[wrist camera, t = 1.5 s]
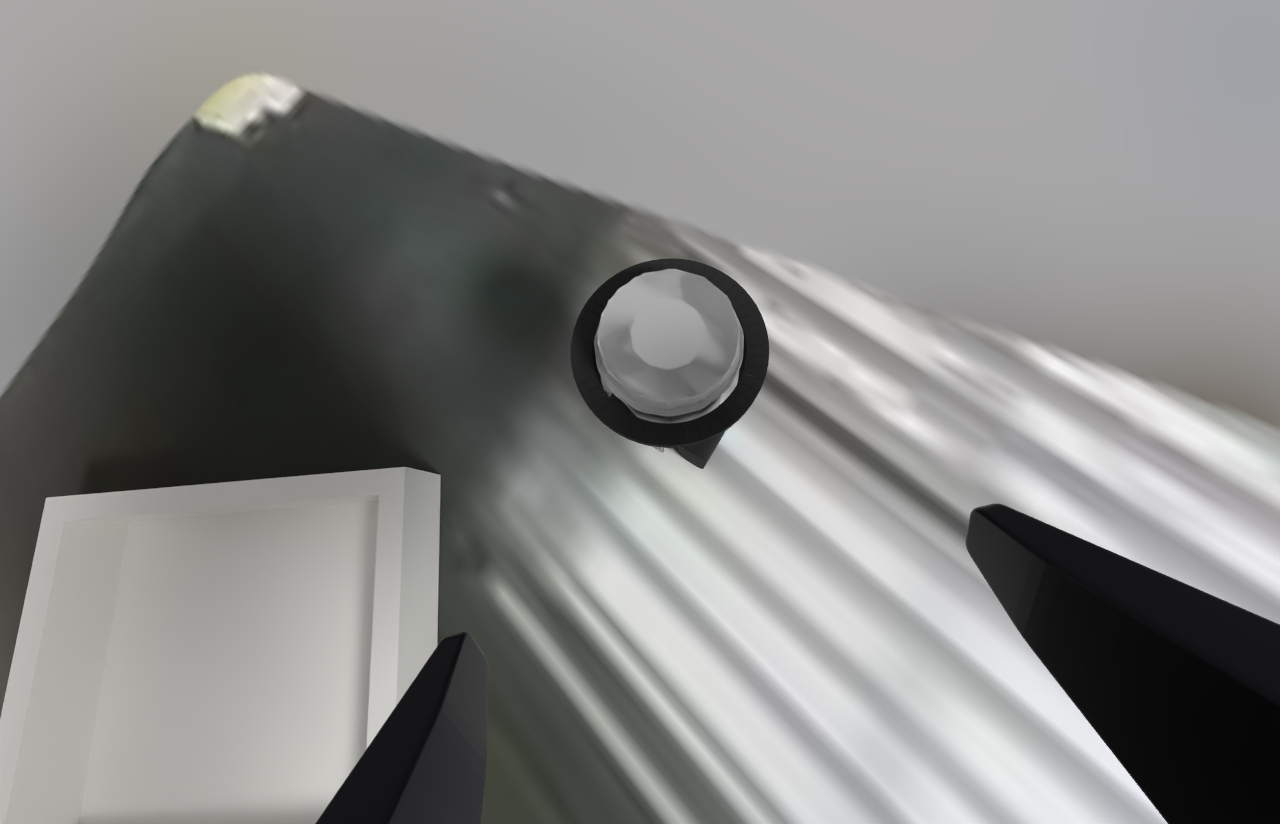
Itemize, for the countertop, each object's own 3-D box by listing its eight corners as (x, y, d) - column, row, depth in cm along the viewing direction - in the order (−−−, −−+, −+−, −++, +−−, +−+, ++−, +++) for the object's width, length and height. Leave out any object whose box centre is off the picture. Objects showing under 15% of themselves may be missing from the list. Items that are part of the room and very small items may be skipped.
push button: (565, 424, 22) (479, 343, 13) (627, 329, 23) (593, 185, 13) (692, 502, 21) (707, 480, 11) (753, 399, 22) (815, 297, 12)
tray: (432, 871, 19) (387, 935, 16) (61, 887, 19) (-49, 951, 16) (440, 474, 22) (405, 466, 19) (126, 501, 23) (46, 497, 20)
